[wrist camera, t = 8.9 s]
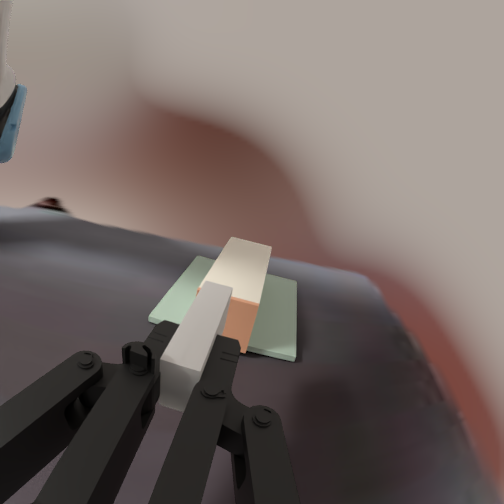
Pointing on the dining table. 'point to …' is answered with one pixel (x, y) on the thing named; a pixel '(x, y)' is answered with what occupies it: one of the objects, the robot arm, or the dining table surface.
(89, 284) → the dining table surface
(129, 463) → the robot arm
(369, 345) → the dining table surface
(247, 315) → the cream block
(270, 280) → the sage mat
